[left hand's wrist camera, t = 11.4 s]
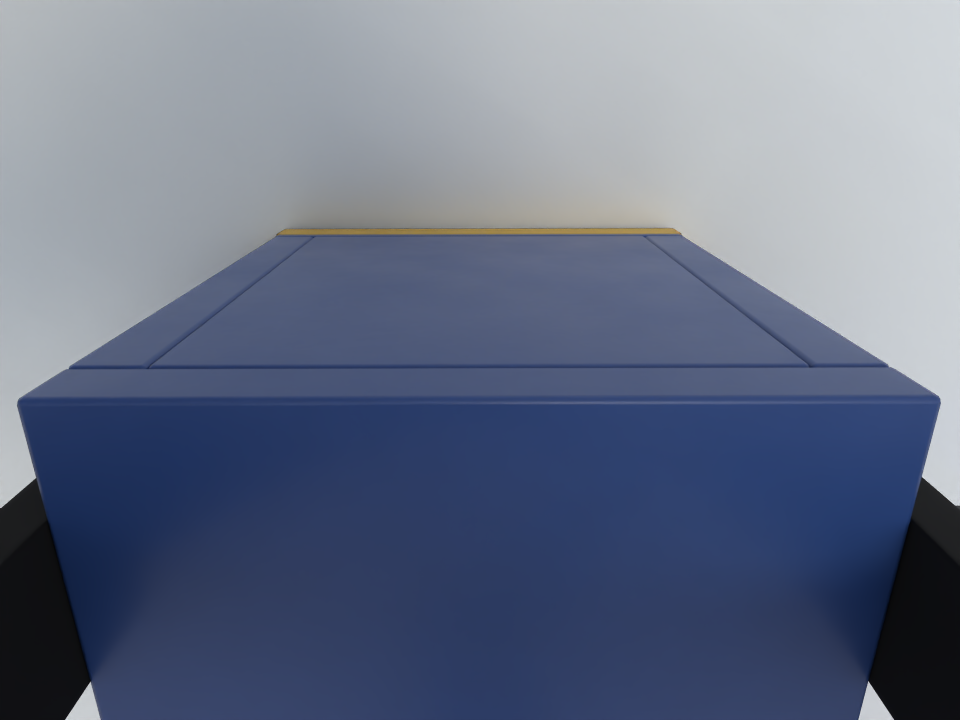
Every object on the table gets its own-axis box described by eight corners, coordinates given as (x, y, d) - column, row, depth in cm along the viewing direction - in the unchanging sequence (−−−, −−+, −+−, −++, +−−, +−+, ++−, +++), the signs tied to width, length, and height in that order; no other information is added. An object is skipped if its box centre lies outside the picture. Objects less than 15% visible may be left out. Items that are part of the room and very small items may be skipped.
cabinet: (624, 721, 26) (737, 1193, 14) (335, 722, 26) (224, 1195, 14) (673, 228, 19) (947, 396, 8) (284, 228, 19) (10, 398, 8)
